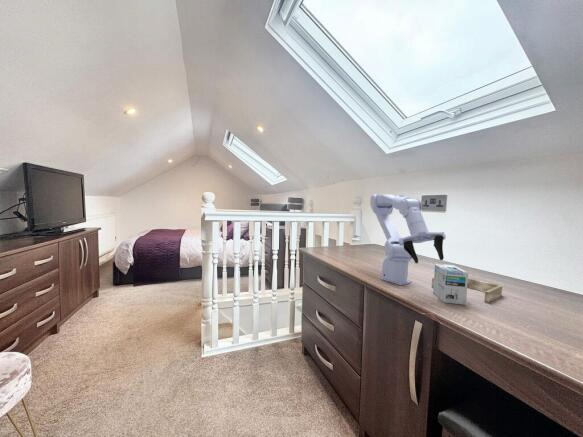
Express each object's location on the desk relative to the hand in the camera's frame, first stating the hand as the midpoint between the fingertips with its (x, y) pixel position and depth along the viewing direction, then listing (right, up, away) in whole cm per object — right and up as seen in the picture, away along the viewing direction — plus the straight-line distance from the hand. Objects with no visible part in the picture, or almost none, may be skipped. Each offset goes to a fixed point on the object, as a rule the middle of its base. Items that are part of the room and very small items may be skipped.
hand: (429, 260), depth 83 cm
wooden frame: (+19, -13, +11) cm, 26 cm away
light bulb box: (+8, -14, +3) cm, 16 cm away
